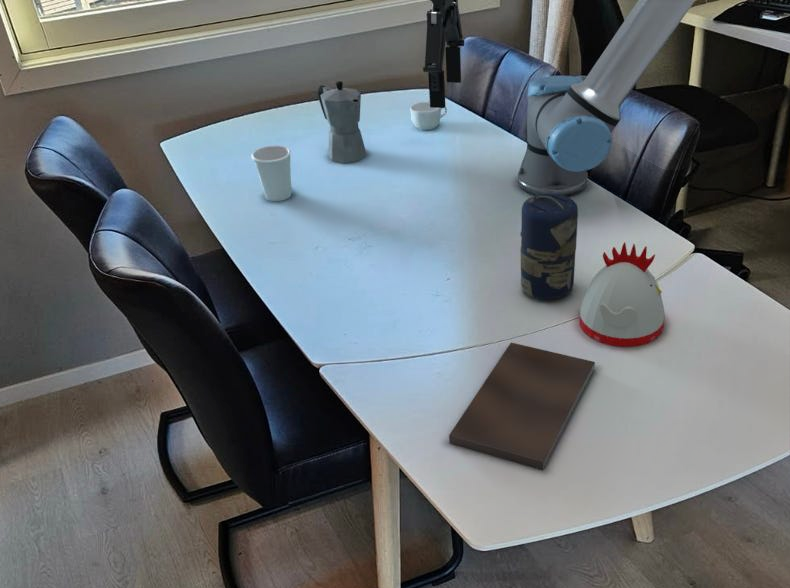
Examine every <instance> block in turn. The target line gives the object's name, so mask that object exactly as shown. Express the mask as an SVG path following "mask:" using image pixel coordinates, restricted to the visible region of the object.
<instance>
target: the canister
mask: <svg viewBox="0 0 790 588" xmlns="http://www.w3.org/2000/svg"><path fill="white" fill-rule="evenodd" d="M578 207H579V206H578V204H577V202H576V201H575V200H574V199H573V198H571V197H570V196H564V195H560V194H540V195H532V196H530V197H528V198H527V199H526V200H525V201H524V202H523V204H522V205H521V230H520V232H519V233H520V286H521V288H522V290H523V291H524V293H526V294H527V295H529V296H530V297H533V298H536V299H540V300H556V299H560V298H562V297H565V296H566V295H568V294H569V293H570V292H571V291H572V289H573V288H574V283H575V270H576V269H575V268H576V251H577V237H578V219H579V208H578Z"/></svg>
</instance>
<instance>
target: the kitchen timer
mask: <svg viewBox="0 0 790 588" xmlns="http://www.w3.org/2000/svg"><path fill="white" fill-rule="evenodd" d="M636 249H637V248H636V244H635V243H633V244H632V247H631V250H630V253H629V254H628V249H627V243H626V242H625V241H624V242H623V244H622V246H621V249H620V253H619V252H618V251H617V248H616V247H615V246H613V247H612V249H611V253H612V259H610V257H608V254H607V253H606V252H605V251H603V254H602V258H603V262H604V264H605V265H604V266H603V267H602V268H601V269H600V270H599V271H597V273H596V274H595V275H594V277H592V279H591V281H590V283H589V284H588V287H587V290H586V291H585V293H584V297H583V298H582V301H581V304H580V307H579V317H578V321H579V327H580V328H581V330H582V331H583V333H584V334H586V335H587V336H588V337H589V338H591V339H592V340H595V341H597V342H598V343H601V344H604V345H609V346H613V347H623V348H629V347H639V346H643V345H646V344H650V343H651V342H653V341H654V340H656V339H657V338H658V337H659V336H660V335H661V334H662V332H663V329H664V325H665V307H664V302H663V298H662V292H663V291H662V290H661V289H660V286H659V284H658V282H657V279H656V278H655V277H654V275H653V274H652V272H651V271H650V270H649V269H648V268H649V267H650V266H651V265H652V264H653V262H654V260H655V258H656V254H655V253H654V254H653V255H652V256H651V257H650V258H647V253H648V251H647V250H648V247H647V245H646V246H644V247H643V249H642V252H641V254H640V255H639V256H638V255H637V250H636Z"/></svg>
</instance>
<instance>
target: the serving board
mask: <svg viewBox="0 0 790 588" xmlns="http://www.w3.org/2000/svg"><path fill="white" fill-rule="evenodd" d="M595 369H596V361H594V360H593V361H592V360H590V359H584V358H580V357H576V356H571V355H567V354H562V353H558V352H554V351H549V350H546V349H541V348H538V347H537V348H536V347H533V346H528V345H524V344H519V343H517V342H516V343H515V342H510V343H509V344H508V346H507V347H506V349H505V351H504V352H503V353H502V355H501V357H500V358H499V360H498V361H497V362H496V364H495V366H494V367H493V369H492V370H491V372H490V373H489V374H488V376H487V378H486V379H485V381H484V382H483V384H481V386H480V388H479V389H478V391H477V392H476V394H475V396H474V397H473V398H472V399H471V401H470V403H469V405H468V406H467V407H466V409H465V410H464V412H463V413H462V415H461V416H460V418H459V419H458V421H457V422H456V424H455V425H454V427H453V428H452V429H451V431H450V433H449V434H448V442H449V444H452V445H455V446H458V447H462V448H466V449H469V450H473V451H475V452H480V453H483V454H487V455H490V456H493V457H496V458H500V459H504V460H507V461H511V462H515V463H518V464H522V465H525V466H529V467H532V468H535V469H538V470H542V471H543V470H544V469H545V467H546V465H547V463H548V461H549V459H550V457H551V455H552V453H553V451H554V449H555V447H556V445H557V443H558V441H559V439H560V438H561V436H562V434H563V432H564V430H565V428H566V427H567V424H568V422H569V420H570V418H571V416H572V414H573V412H574V410H575V408H576V407H577V404H578V402H579V400H580V398H581V397H582V394H583V393H584V391H585V389H586V387H587V386H588V385H587V384H588V383H589V381H590V379H591V377H592V375H593V373H594V371H595Z"/></svg>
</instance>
